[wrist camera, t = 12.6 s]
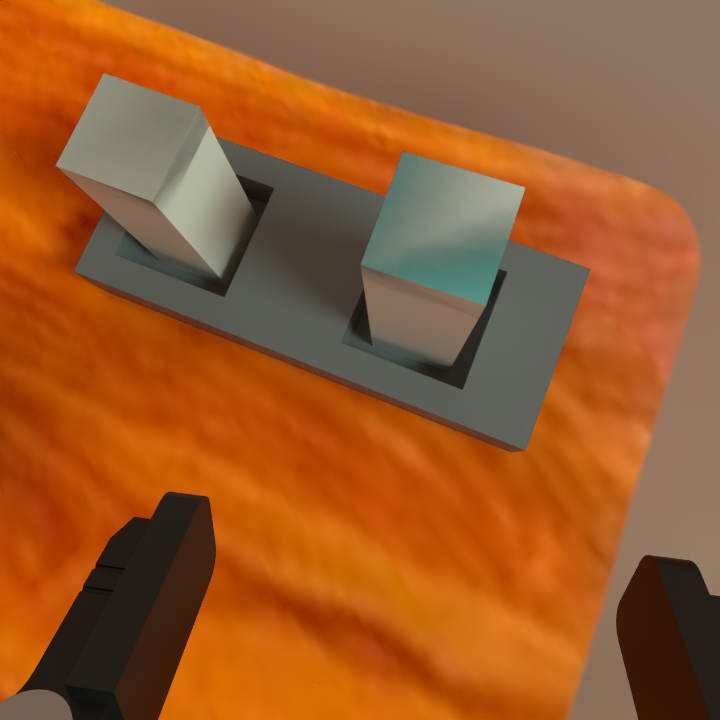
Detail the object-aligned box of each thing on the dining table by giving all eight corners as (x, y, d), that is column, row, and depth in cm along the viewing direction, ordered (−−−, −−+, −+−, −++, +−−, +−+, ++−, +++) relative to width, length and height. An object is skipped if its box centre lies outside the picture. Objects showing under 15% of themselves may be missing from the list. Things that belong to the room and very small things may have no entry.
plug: (372, 346, 30) (360, 264, 18) (398, 274, 31) (403, 151, 19) (448, 371, 29) (486, 305, 18) (472, 298, 30) (525, 187, 18)
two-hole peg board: (103, 289, 32) (-36, 202, 21) (174, 146, 33) (76, -1, 23) (512, 452, 29) (578, 442, 19) (570, 288, 30) (662, 194, 20)
